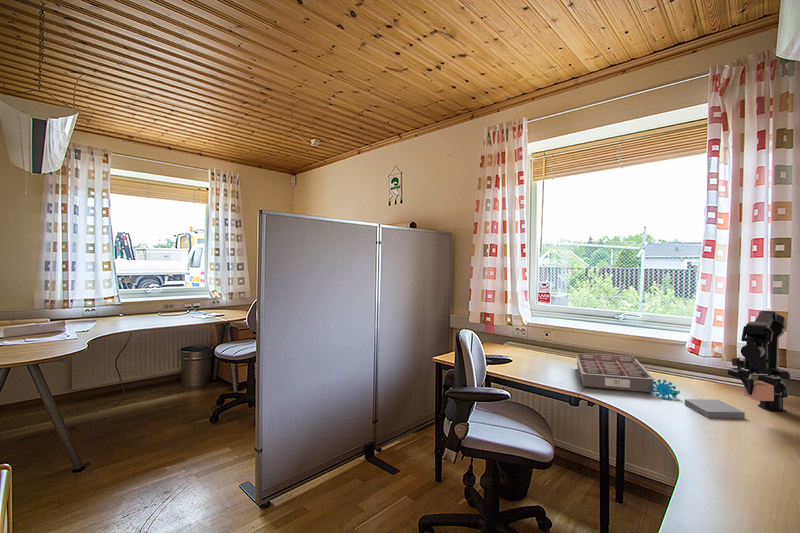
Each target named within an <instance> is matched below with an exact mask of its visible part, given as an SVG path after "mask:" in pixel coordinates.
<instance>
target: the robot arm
mask: <svg viewBox="0 0 800 533" xmlns="http://www.w3.org/2000/svg"><path fill="white" fill-rule="evenodd" d="M787 324H788V323H787V319H786V318H785V316H784V315H783V316H782V315H780V314H779V313H778V312H776V311H774V310H759V312H758V315H757V317H756V318H755V320H754V321H749V322H747V323H746V324H745V325H744V326H743V328H742V332H741V333H742V334H741V339H740V340H741V342H746V343H745V345H743V346H742V347H741V348H740V353H741V355H742V357H743V358H744V359H743V360H742V359H740V358H738V357H736V358H735V357H733V358H731V365H732V367H728V369H727V376H731V377H733V378H736V379H739V380H741V383H742V384H743V387H744V386H745V388H746V390H747V393H748V394H749V395H752V392H753V385H754V381H762V382H765V383H768V384H771V385H773V386H774V401H759V404H757V406H758V407H760V408H763V409H765V410H767V411H769V412H787V409H785V408H784V399H786V398H787V399H788V398H789V392H788V387H787V386H786V384H785V382H784V380H791V374H790V372H789V371H787V370H785V369H781V368H779V353H780V352H779V350H780V349H779V347H780V345H779V344H780V338H781V337H782V336H783V335H784V334H785V330H786V329H787V327H788V325H787ZM753 376H757V378H756V380H755V379H753V378H752V377H753Z"/></svg>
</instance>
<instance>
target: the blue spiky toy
mask: <svg viewBox="0 0 800 533" xmlns="http://www.w3.org/2000/svg"><path fill="white" fill-rule="evenodd" d="M667 382H668V381H667V380H666V379H663V380H661V379H657V381H655V380H653V385H652V386H651V387H652V388H653V389H652V392H651V393H655V396H656V397H660V396H661V399H662V400H665V399H667V400H671V399H672V398H676V397H677V396H678V395H680V394H681V391H680V390H676V389H677V387H676V385H673V382H671V381H669V382H668V383H667ZM657 383H658V384H657ZM672 385H673V386H672ZM670 395H671V396H670ZM666 396H667V397H666ZM665 397H666V398H665Z"/></svg>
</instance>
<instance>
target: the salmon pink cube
mask: <svg viewBox="0 0 800 533" xmlns="http://www.w3.org/2000/svg"><path fill="white" fill-rule="evenodd" d="M743 395H744V396H745V397H747V398H750V399H751V400H755V401H756V402H760V401H774V386H773V385H771V384H768V383H765V382H762V381H756V380H754V385H753V392H752V395H749V394H748V393H747V390H746V388H745V386H744V385H743Z"/></svg>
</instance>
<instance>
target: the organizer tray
mask: <svg viewBox="0 0 800 533" xmlns="http://www.w3.org/2000/svg"><path fill="white" fill-rule="evenodd" d="M575 358H576V365H577V370H578V373H580V374H579V377H580V376H581V377H580V380H581V382H582V386H583V387H587V386H588V387H590V388H599V389H609V390H611V389H612V390H613V389H614V390H620V391H621V390H623V391H633V392H634V391H635V392H645V393H653V392H652V389H654V388H652V387H651V386H652V385H654V384H653V382H654V381H655V380H656V378H654V377H653V375H652V374H651V373H650V372H649V371H648V370H647V369H646V368H645V367H644V366H643V365H642V363H640V362H639V361H638V359H636V358H635V356H633V355H620V354H619V355H618V354H617V355H616V354H603V353H588V352H587V353H584V352H578V353H577V355H575Z"/></svg>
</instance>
